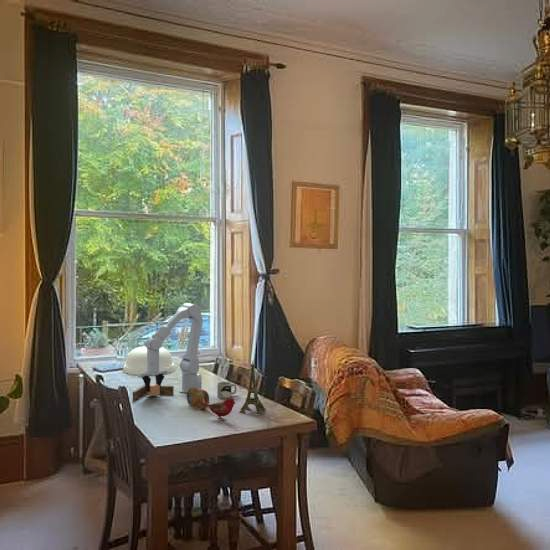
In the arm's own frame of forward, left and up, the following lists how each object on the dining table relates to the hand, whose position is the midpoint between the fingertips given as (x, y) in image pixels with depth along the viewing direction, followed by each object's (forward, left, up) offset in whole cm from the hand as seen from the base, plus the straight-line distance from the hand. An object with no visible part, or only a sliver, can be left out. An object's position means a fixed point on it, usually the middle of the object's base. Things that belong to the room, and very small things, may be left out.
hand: (152, 390), depth 267 cm
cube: (0, 0, -2) cm, 2 cm away
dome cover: (+24, -60, -3) cm, 64 cm away
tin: (-26, +14, -3) cm, 30 cm away
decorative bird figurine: (-39, +31, -3) cm, 50 cm away
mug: (-35, -7, -3) cm, 36 cm away
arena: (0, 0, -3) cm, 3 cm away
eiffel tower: (-51, +16, -3) cm, 54 cm away
